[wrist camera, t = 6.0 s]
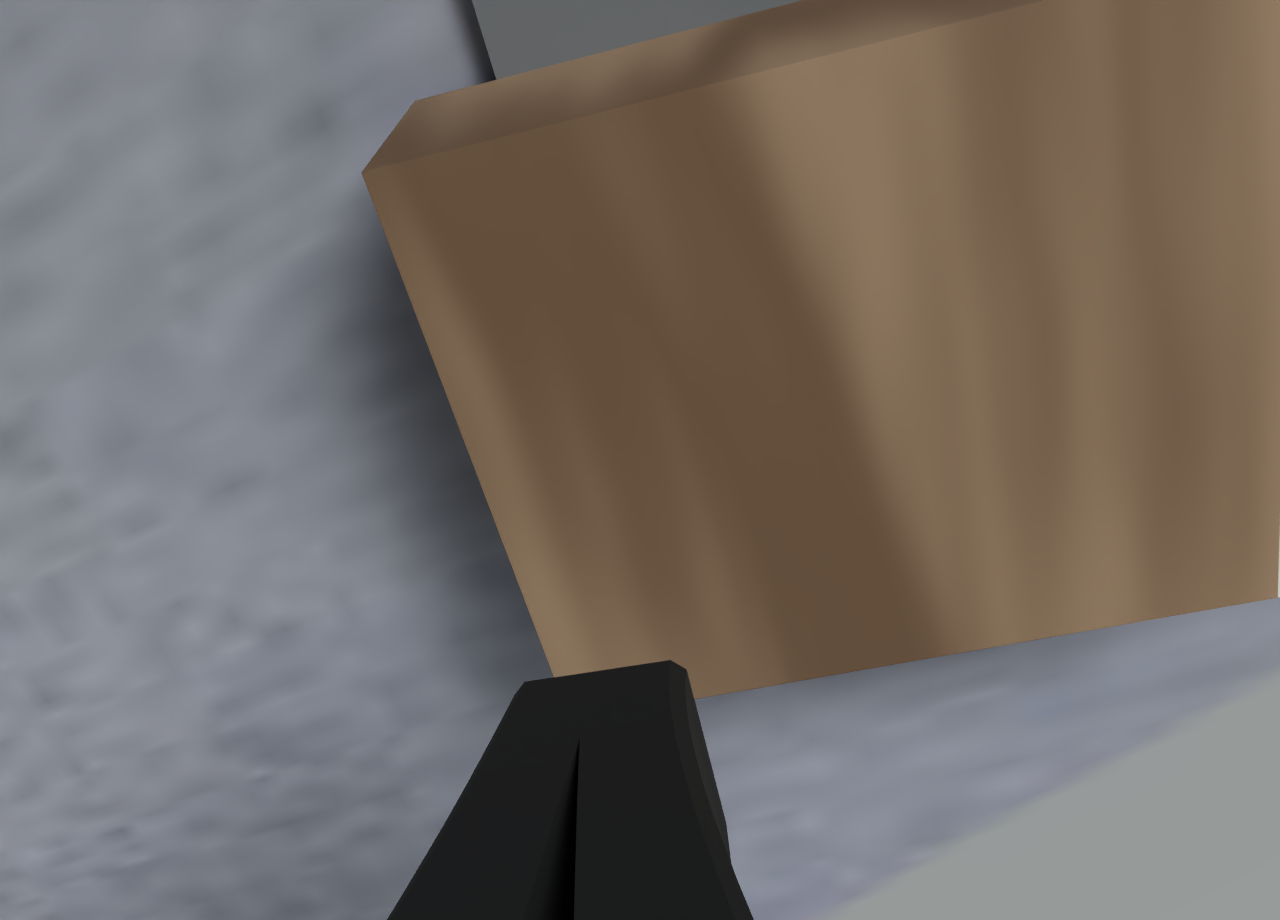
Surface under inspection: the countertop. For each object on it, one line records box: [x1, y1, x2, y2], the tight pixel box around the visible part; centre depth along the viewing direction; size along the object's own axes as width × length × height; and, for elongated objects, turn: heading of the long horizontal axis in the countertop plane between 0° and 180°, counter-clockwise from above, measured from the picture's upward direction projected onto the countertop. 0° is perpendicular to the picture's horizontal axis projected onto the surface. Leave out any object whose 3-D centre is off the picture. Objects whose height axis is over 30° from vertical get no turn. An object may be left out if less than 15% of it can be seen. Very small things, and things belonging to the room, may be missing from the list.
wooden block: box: [362, 0, 1280, 699], centre depth 15 cm, size 3×8×10 cm
